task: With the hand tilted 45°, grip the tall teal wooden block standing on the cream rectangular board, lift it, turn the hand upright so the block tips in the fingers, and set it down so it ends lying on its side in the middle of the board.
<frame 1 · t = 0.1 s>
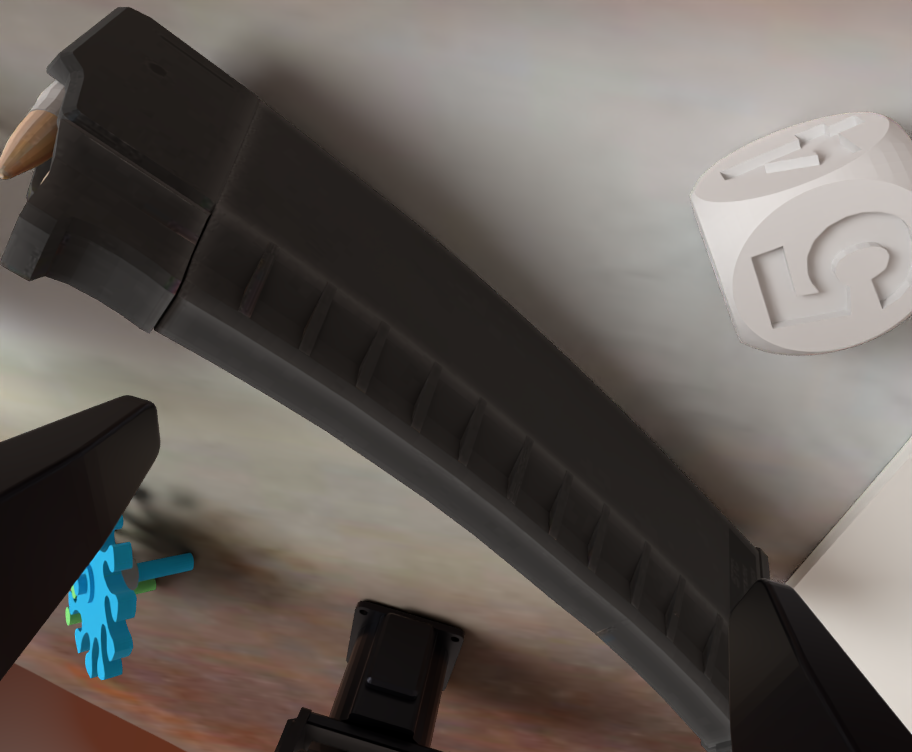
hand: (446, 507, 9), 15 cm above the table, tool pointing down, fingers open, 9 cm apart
magazine: (492, 330, 24), on the table
die: (780, 207, 20), on the table
gear: (140, 529, 36), on the table
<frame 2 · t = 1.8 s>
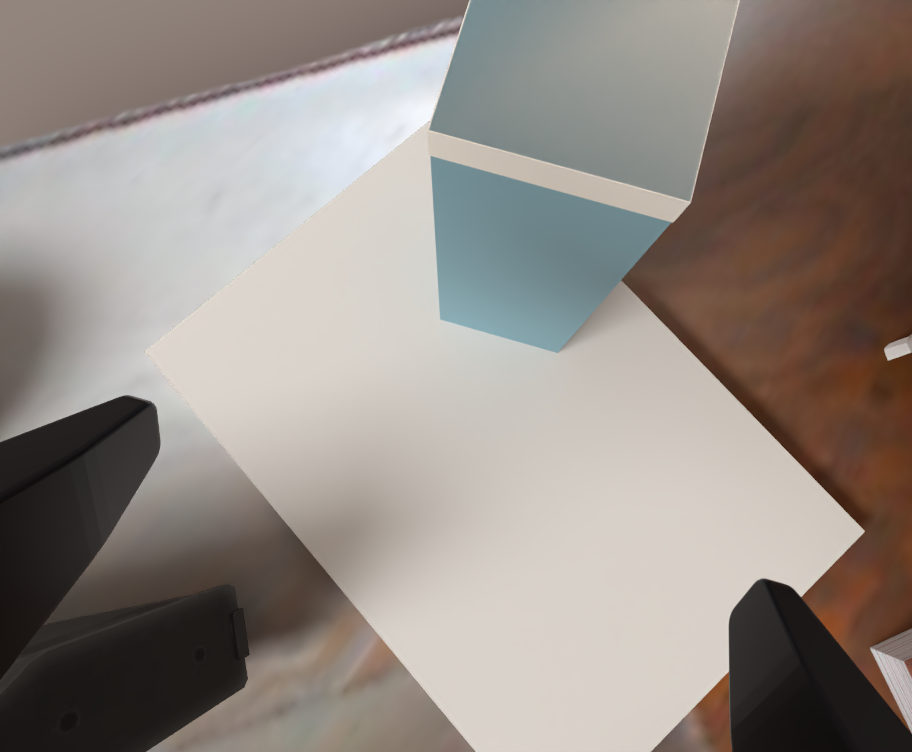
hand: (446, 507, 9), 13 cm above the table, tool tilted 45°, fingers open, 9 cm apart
teal block: (514, 280, 23), point 1 cm above the table, touching cream rectangular board
cream rectangular board: (496, 440, 22), on the table
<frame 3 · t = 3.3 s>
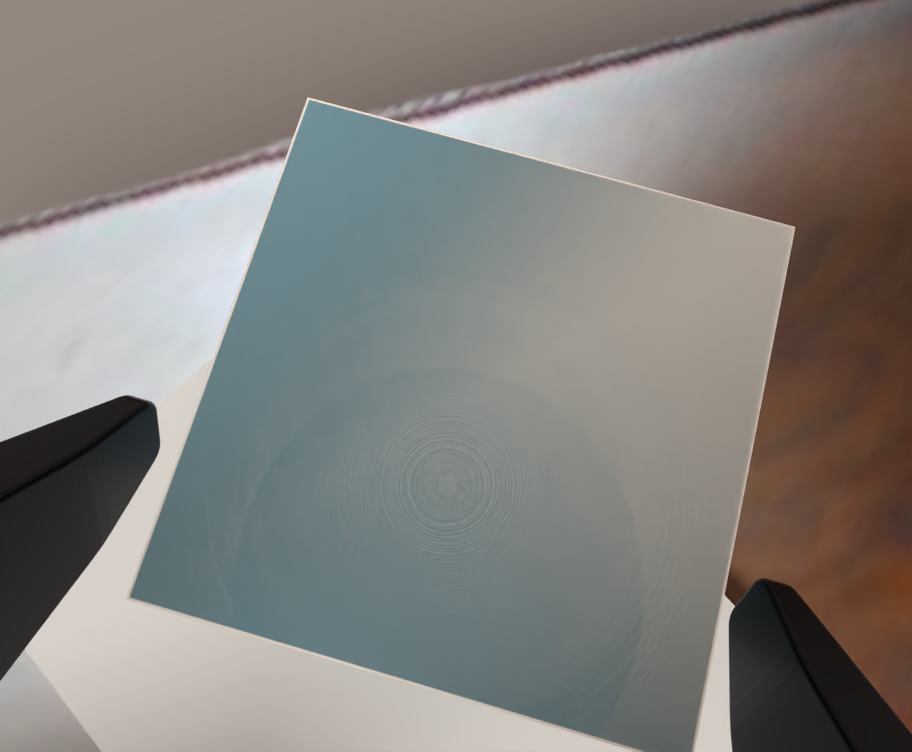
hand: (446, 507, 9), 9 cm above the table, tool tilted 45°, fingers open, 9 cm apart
teal block: (457, 460, 17), point 1 cm above the table, touching cream rectangular board
cream rectangular board: (434, 678, 17), on the table
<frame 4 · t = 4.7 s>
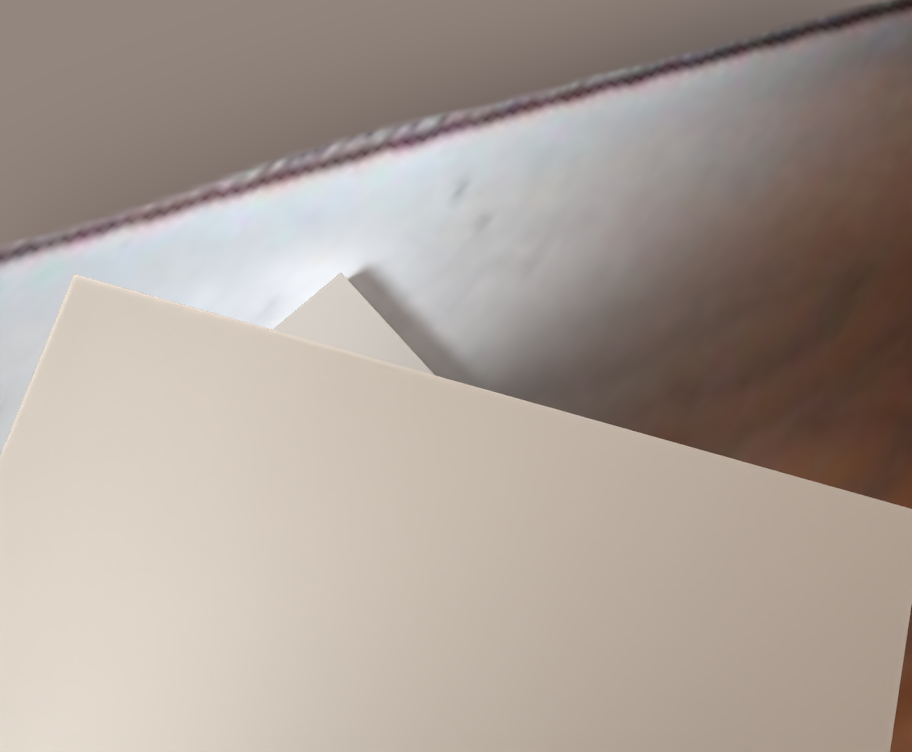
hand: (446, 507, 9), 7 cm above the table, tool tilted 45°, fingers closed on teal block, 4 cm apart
teal block: (432, 550, 15), point 1 cm above the table, touching cream rectangular board, gripper
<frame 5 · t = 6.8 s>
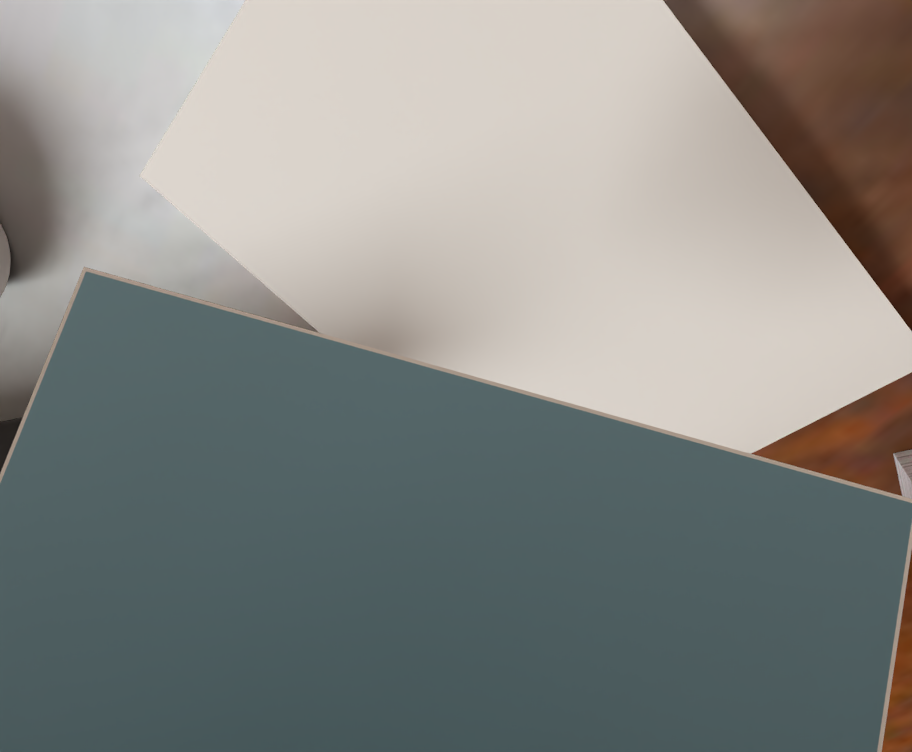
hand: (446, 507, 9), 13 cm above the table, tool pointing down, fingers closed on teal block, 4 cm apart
magazine: (57, 435, 30), on the table
teal block: (433, 547, 15), point 9 cm above the table, tilted 44°, touching gripper
cream rectangular board: (523, 257, 20), on the table
when the fingers open (7 cm above the table, at t = 8.0 s): teal block moves 2 cm and tips over, resting on cream rectangular board.
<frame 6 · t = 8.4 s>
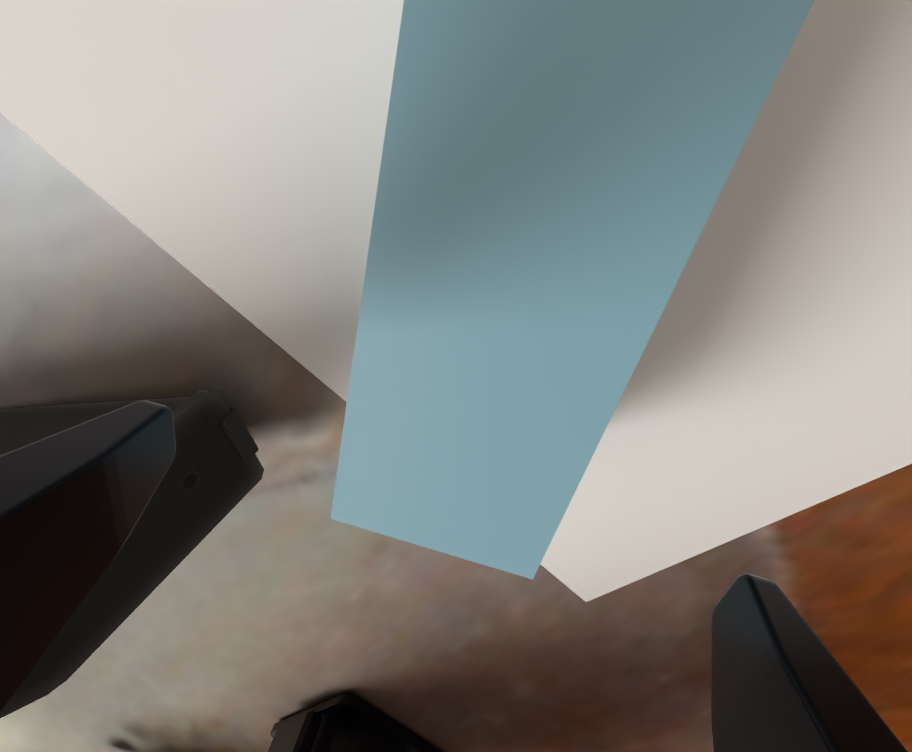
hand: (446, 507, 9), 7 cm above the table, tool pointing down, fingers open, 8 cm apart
teal block: (451, 476, 15), point 3 cm above the table, tilted 90°, touching cream rectangular board
cream rectangular board: (530, 197, 14), on the table
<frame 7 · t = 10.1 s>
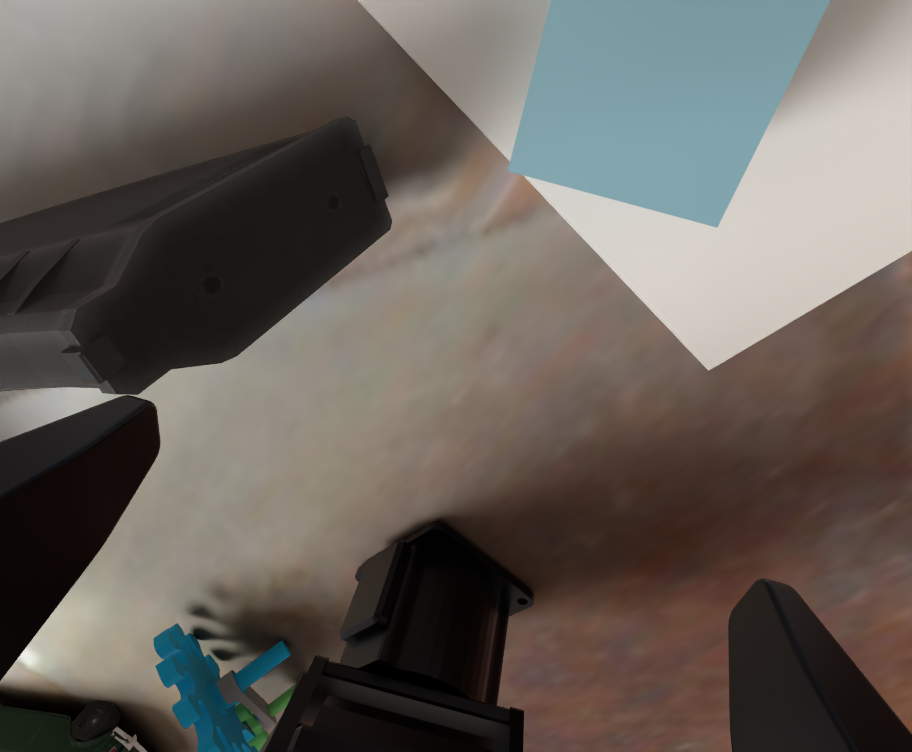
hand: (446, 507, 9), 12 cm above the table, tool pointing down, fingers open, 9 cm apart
magazine: (33, 257, 23), on the table
teal block: (610, 166, 14), point 3 cm above the table, tilted 90°, touching cream rectangular board
miniature car: (74, 716, 51), on the table
gear: (247, 644, 38), on the table
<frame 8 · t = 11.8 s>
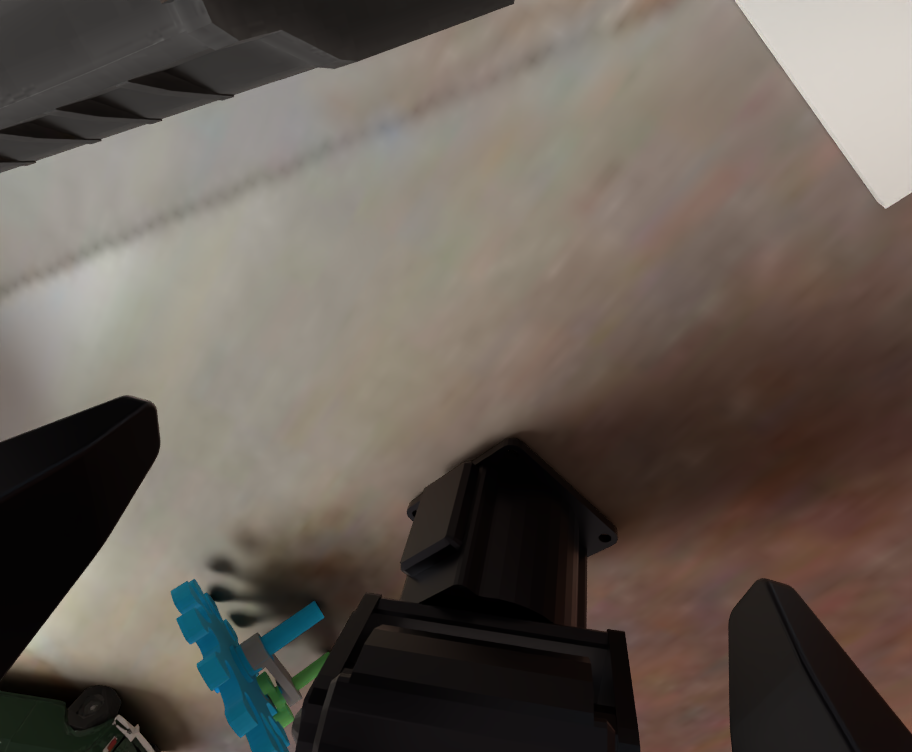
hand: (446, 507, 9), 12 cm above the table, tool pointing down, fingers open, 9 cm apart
magazine: (50, 96, 20), on the table
miniature car: (65, 704, 47), on the table
gear: (271, 607, 34), on the table
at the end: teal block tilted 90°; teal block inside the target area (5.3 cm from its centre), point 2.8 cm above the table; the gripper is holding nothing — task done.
